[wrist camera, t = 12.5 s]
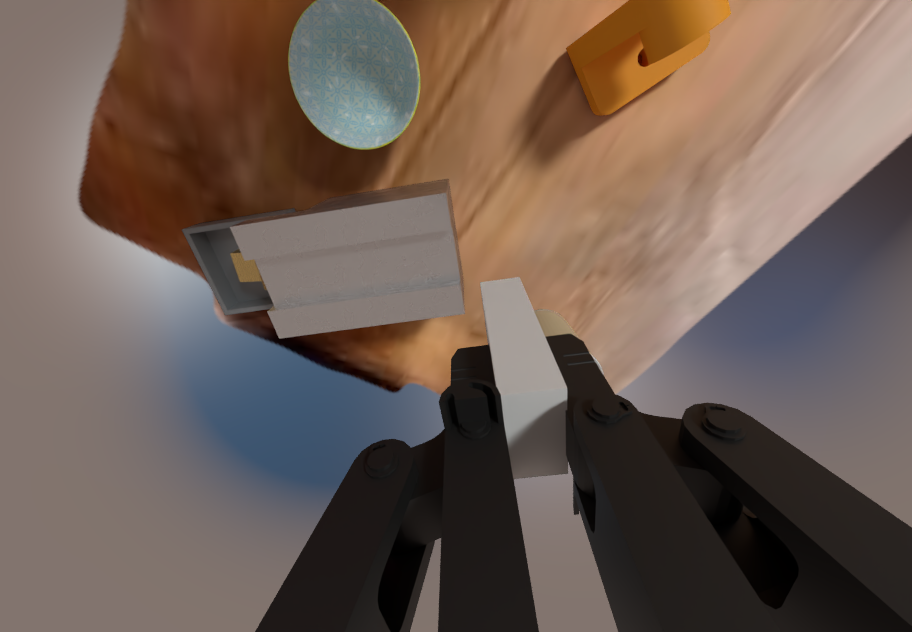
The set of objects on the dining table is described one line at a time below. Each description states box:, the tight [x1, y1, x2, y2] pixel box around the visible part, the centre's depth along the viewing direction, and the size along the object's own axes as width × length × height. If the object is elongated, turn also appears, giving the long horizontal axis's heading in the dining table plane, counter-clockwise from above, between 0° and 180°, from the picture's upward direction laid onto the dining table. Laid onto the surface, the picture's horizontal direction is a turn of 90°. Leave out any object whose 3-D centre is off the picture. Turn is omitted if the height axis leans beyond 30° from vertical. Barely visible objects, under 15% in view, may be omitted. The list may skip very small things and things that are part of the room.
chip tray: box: [182, 208, 295, 315], centre depth 43 cm, size 11×12×3 cm
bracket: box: [566, 0, 731, 116], centre depth 30 cm, size 11×7×12 cm, turn 123°
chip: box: [230, 249, 261, 282], centre depth 42 cm, size 4×4×4 cm
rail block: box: [230, 179, 465, 339], centre depth 39 cm, size 12×20×10 cm, turn 99°
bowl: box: [288, 0, 420, 150], centre depth 33 cm, size 11×12×6 cm
